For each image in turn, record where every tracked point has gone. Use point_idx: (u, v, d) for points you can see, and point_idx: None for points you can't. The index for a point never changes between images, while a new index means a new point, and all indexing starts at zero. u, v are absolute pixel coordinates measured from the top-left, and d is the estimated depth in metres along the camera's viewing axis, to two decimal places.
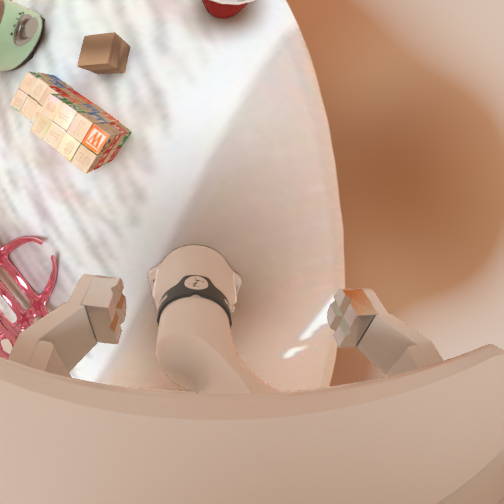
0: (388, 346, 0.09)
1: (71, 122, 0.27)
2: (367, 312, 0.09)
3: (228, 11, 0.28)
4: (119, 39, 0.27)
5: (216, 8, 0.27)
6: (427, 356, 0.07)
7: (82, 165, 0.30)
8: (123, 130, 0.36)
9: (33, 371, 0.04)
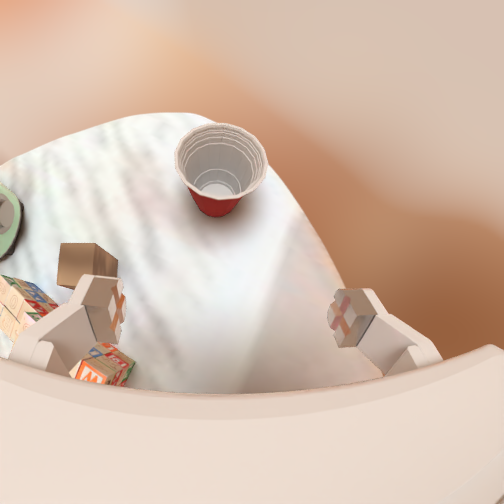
0: (388, 346, 0.09)
1: None
2: (367, 312, 0.09)
3: (225, 208, 0.35)
4: (103, 252, 0.30)
5: (211, 205, 0.33)
6: (427, 356, 0.07)
7: None
8: (124, 362, 0.30)
9: (33, 370, 0.04)
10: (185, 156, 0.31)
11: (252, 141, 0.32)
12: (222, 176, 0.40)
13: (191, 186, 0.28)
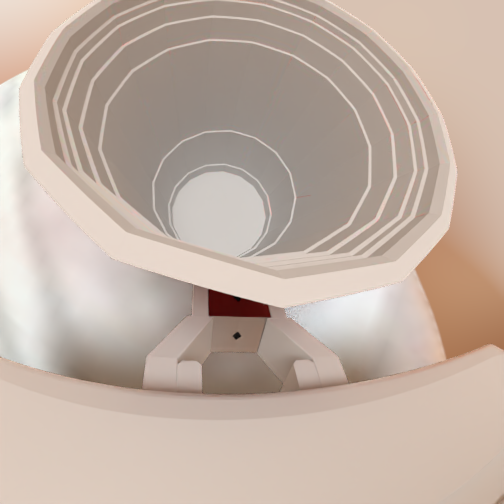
0: (284, 356, 0.08)
1: None
2: (258, 314, 0.08)
3: None
4: None
5: None
6: (322, 376, 0.06)
7: None
8: None
9: (33, 371, 0.04)
10: (114, 61, 0.06)
11: (368, 41, 0.07)
12: (240, 153, 0.14)
13: (61, 189, 0.03)
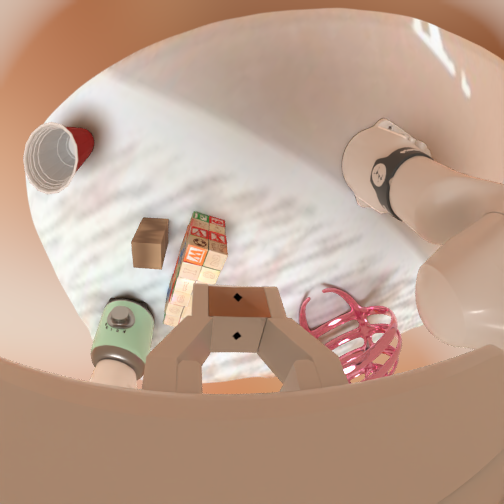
0: (284, 356, 0.08)
1: (187, 279, 0.43)
2: (258, 314, 0.08)
3: (85, 143, 0.35)
4: (137, 233, 0.44)
5: (83, 156, 0.35)
6: (323, 376, 0.06)
7: (221, 260, 0.42)
8: (191, 222, 0.47)
9: (33, 370, 0.04)
10: (49, 182, 0.33)
11: (35, 134, 0.27)
12: (63, 141, 0.36)
13: (69, 180, 0.31)
